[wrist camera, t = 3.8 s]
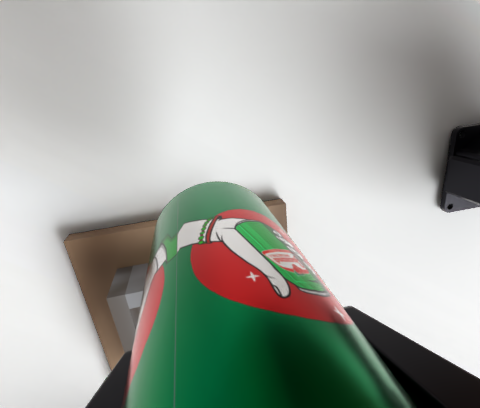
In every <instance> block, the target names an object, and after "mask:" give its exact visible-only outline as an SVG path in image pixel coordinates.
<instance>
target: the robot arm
mask: <svg viewBox="0 0 480 408" xmlns="http://www.w3.org/2000/svg"><path fill="white" fill-rule="evenodd" d="M460 133H461V134H460ZM459 135H460V136H459ZM448 205H449V206H448ZM440 207H441V210H443V211H445V212H454V211H460V210H465V209H470V208H475V207H480V124H473V125H466V126H460V127H456V128H455V129H454V130H453V132H452V135H451V141H450V148H449V154H448V161H447V167H446V173H445V180H444V186H443V193H442V199H441V205H440ZM343 308H344V309H345V311H346V312H347V313H348V315H349V316H350V317H351V319H352V320H353V321H354V323H355V324H356V325H357V327H358V328H359V329H360V331H361V332H362V333H363V335H364V336H365V337H366V339H367V340H368V341H369V343H370V344H371V345H372V347H373V348H374V349H375V351H376V352H377V353H378V354H379V356H380V357H381V358H382V360H383V361H384V362H385V364H386V365H387V366H388V368H389V369H390V370H391V372H392V373H393V374H394V376H395V377H396V378H397V380H398V381H399V382H400V384H401V385H402V386H403V388H404V389H405V390H406V392H407V393H408V394H409V396H410V397H411V398H412V400H413V401H414V402H415V404H416V405H417V406H418V408H480V379H479V378H478V377H476V376H474V375H472V374H470V373H469V372H467V371H465V370H463V369H462V368H460V367H458V366H456V365H455V364H453V363H451V362H449V361H448V360H446V359H444V358H442V357H441V356H439V355H437V354H435V353H433V352H432V351H430V350H428V349H426V348H425V347H423V346H421V345H419V344H418V343H416V342H414V341H412V340H411V339H409V338H407V337H405V336H404V335H402V334H400V333H398V332H396V331H395V330H393V329H391V328H389V327H388V326H386V325H384V324H382V323H381V322H379V321H377V320H375V319H374V318H372V317H370V316H368V315H367V314H365V313H363V312H361V311H360V310H358V309H356V308H354V307H352V306H347V307H343ZM131 354H132V350H130V351H127V352H125V353H124V354H123V356H122V357H121V358H120V360H119V361H118V363H117V364H116V365H115V367H114V368H113V370H112V371H111V372H110V374H109V375H108V377H107V378H106V379H105V381H104V382H103V384H102V385H101V386H100V388H99V389H98V391H97V392H96V393H95V395H94V396H93V398H92V399H91V400H90V402H89V403H88V405H87V406H86V407H85V408H122V403H123V397H124V392H125V386H126V381H127V375H128V370H129V365H130V359H131Z"/></svg>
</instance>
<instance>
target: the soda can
mask: <svg viewBox="0 0 480 408" xmlns="http://www.w3.org/2000/svg"><path fill="white" fill-rule="evenodd" d="M122 408H418V406H417V405H416V404H415V402H414V401H413V400H412V398H411V397H410V396H409V394H408V393H407V392H406V390H405V389H404V388H403V386H402V385H401V384H400V382H399V381H398V380H397V378H396V377H395V376H394V374H393V373H392V372H391V370H390V369H389V368H388V366H387V365H386V364H385V362H384V361H383V360H382V358H381V357H380V356H379V354H378V353H377V352H376V351H375V349H374V348H373V347H372V345H371V344H370V343H369V341H368V340H367V339H366V337H365V336H364V335H363V333H362V332H361V331H360V329H359V328H358V327H357V325H356V324H355V323H354V321H353V320H352V319H351V317H350V316H349V315H348V313H347V312H346V311H345V309H344V308H343V307H342V305H341V304H340V303H339V301H338V300H337V299H336V297H335V296H334V295H333V294H332V292H331V291H330V290H329V288H328V287H327V286H326V284H325V283H324V282H323V280H322V279H321V278H320V276H319V275H318V274H317V272H316V271H315V270H314V268H313V267H312V266H311V264H310V263H309V262H308V260H307V259H306V258H305V256H304V255H303V254H302V252H301V251H300V250H299V248H298V247H297V246H296V244H295V243H294V242H293V240H292V239H291V238H290V236H289V235H288V234H287V233H286V231H285V230H284V229H283V227H282V226H281V225H280V223H279V222H278V221H277V219H276V218H275V217H274V215H273V214H272V213H271V211H270V210H269V209H268V207H267V206H266V205H265V204H264V202H263V201H262V200H261V199H260V198H259V197H258V196H257V195H256V194H255V193H253V192H252V191H250V190H248V189H247V188H245V187H242V186H240V185H237V184H233V183H228V182H206V183H202V184H198V185H195V186H193V187H190V188H188V189H186V190H184V191H183V192H181V193H179V194H178V195H177V196H176V197H174V198H173V199H172V200H171V201H170V202H169V203H168V204H167V205H166V207H165V208H164V209H163V211H162V212H161V214H160V216H159V218H158V220H157V223H156V226H155V231H154V236H153V241H152V246H151V252H150V257H149V263H148V268H147V273H146V279H145V284H144V289H143V295H142V300H141V305H140V311H139V316H138V322H137V327H136V332H135V338H134V343H133V348H132V354H131V359H130V365H129V370H128V375H127V381H126V386H125V392H124V397H123V403H122Z"/></svg>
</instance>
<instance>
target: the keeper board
mask: <svg viewBox="0 0 480 408" xmlns="http://www.w3.org/2000/svg"><path fill="white" fill-rule="evenodd" d="M264 204H265V205H266V206H267V207H268V209H269V210H270V211H271V213H272V214H273V215H274V217H275V218H276V219H277V221H278V222H279V223H280V225H281V226H282V227H283V229H284V230H285V231H286V233H287V218H286V203H285V202H284V201H283V200H282V199H276V200H270V201H264ZM156 223H157V220H152V221H146V222H140V223H134V224H128V225H122V226H117V227H111V228H105V229H99V230H93V231H87V232H81V233H75V234H69V236H68V237H67V238H66V239H65V241H64V244H65V247H66V250H67V252H68V255H69V258H70V260H71V263H72V266H73V268H74V271H75V274H76V276H77V279H78V282H79V284H80V287H81V290H82V293H83V295H84V298H85V301H86V303H87V306H88V309H89V311H90V314H91V317H92V319H93V322H94V325H95V328H96V330H97V333H98V336H99V338H100V341H101V344H102V346H103V349H104V352H105V354H106V357H107V360H108V362H109V365H110V368H111V371H112V370H113V368H114V367H115V365H116V364H117V363H118V361H119V360H120V358H121V357H122V356H123V354H124V353H125V352H127V351H130V350H132V348H133V343H134V338H135V332H136V327H137V322H138V316H139V311H140V305H141V300H142V295H143V289H144V284H145V279H146V273H147V268H148V263H149V257H150V252H151V246H152V241H153V236H154V231H155V226H156Z"/></svg>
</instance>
